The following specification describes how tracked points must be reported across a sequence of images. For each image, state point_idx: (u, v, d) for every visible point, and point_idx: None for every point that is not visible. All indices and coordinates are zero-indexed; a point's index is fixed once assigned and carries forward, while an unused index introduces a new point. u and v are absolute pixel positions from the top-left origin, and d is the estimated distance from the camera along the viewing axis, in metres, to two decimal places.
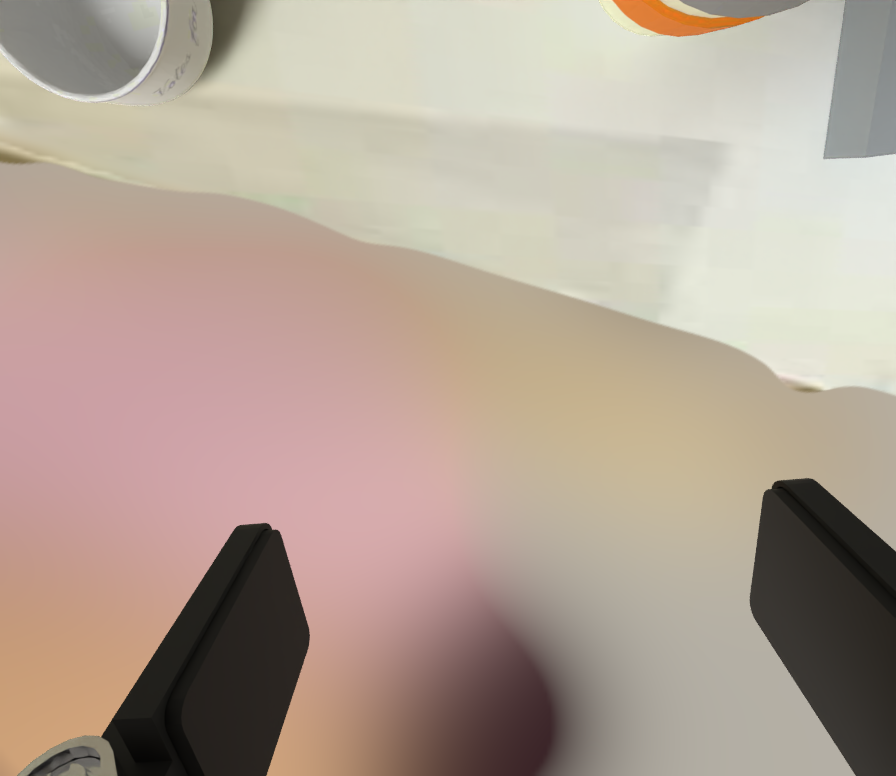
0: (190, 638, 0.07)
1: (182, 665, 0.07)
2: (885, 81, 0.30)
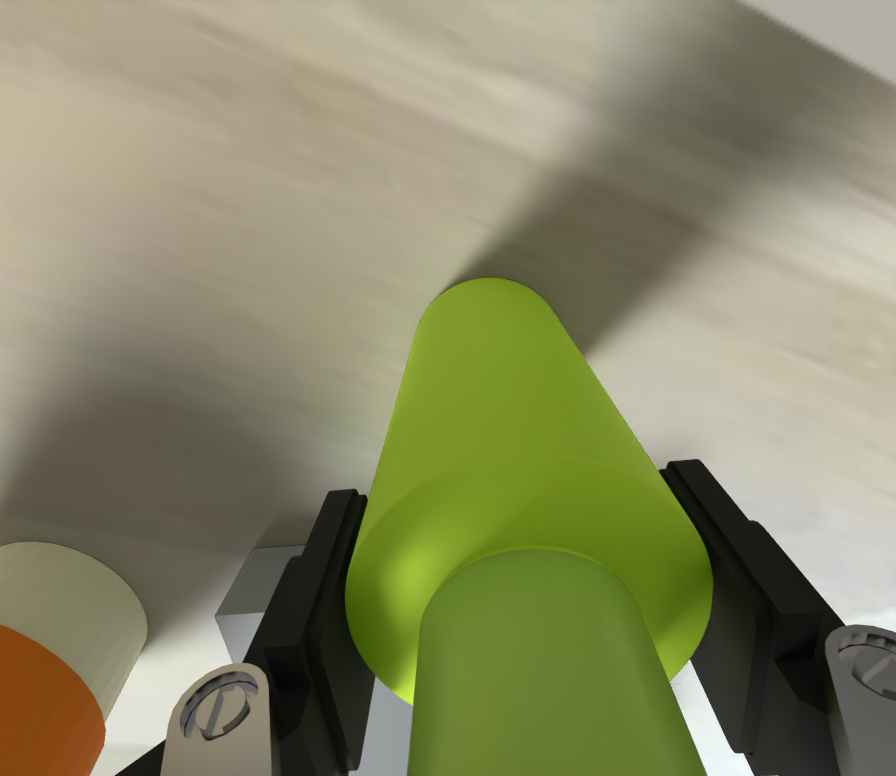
0: (314, 583, 0.08)
1: (313, 604, 0.08)
2: None
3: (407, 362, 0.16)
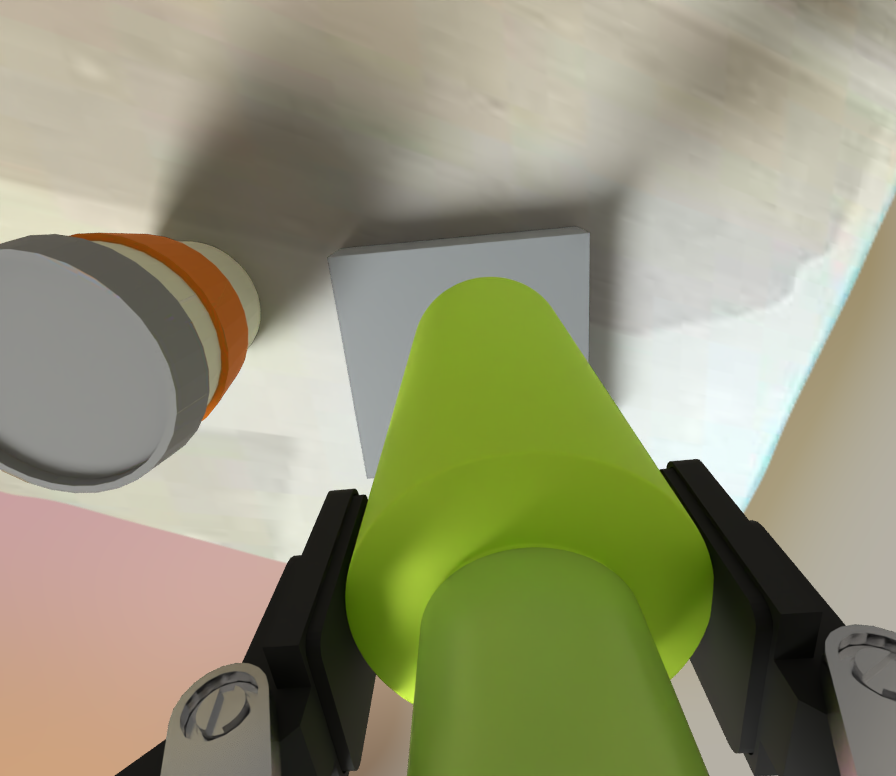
0: (314, 582, 0.08)
1: (313, 603, 0.08)
2: (364, 429, 0.37)
3: (407, 361, 0.16)
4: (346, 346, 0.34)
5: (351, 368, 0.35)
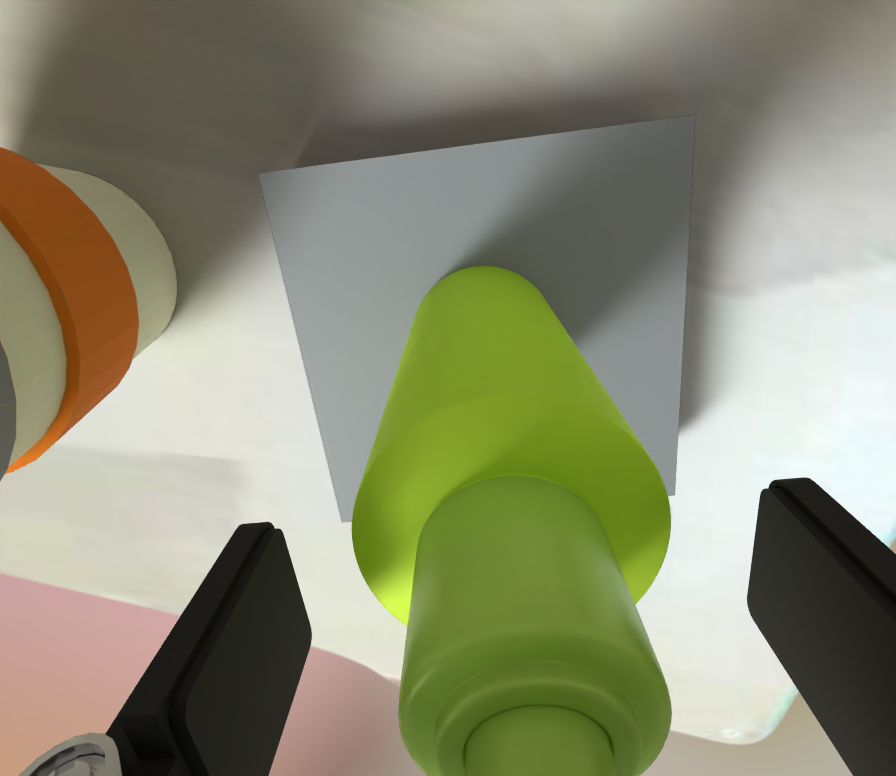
0: (194, 636, 0.07)
1: (185, 663, 0.07)
2: (333, 451, 0.24)
3: (406, 342, 0.17)
4: (298, 322, 0.22)
5: (308, 357, 0.22)
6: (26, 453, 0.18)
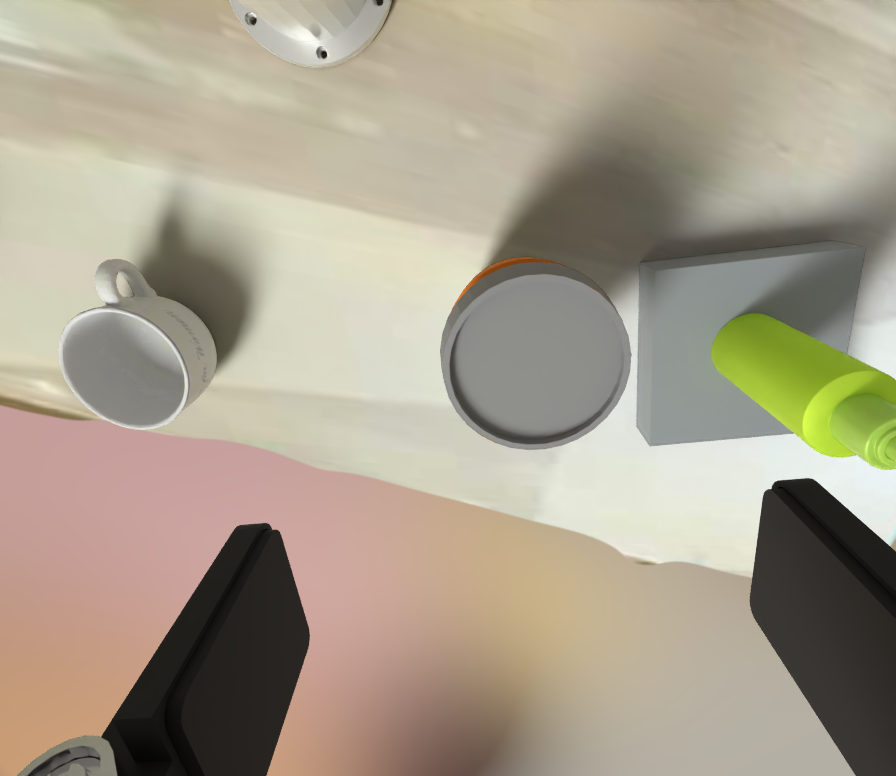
0: (190, 638, 0.07)
1: (181, 665, 0.07)
2: (655, 406, 0.46)
3: (741, 351, 0.39)
4: (655, 339, 0.44)
5: (655, 357, 0.44)
6: None
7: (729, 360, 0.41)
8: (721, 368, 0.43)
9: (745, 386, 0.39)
